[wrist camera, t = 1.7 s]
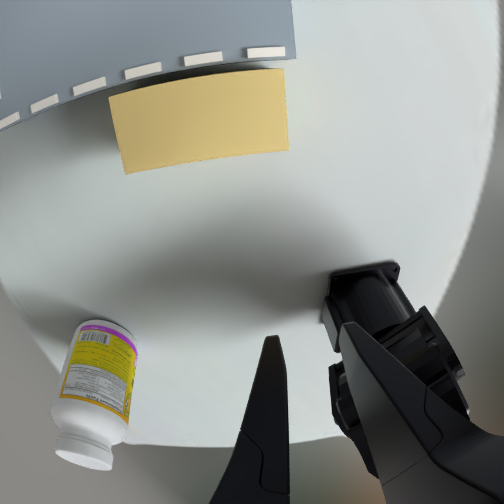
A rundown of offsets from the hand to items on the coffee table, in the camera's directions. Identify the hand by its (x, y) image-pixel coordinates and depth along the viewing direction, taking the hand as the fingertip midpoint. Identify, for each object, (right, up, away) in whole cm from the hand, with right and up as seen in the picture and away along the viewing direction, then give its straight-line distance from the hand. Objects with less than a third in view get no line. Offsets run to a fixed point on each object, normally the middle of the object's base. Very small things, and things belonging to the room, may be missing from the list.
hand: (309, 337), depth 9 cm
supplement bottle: (-16, -6, +17) cm, 24 cm away
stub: (-5, +11, +7) cm, 14 cm away
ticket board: (-9, +16, +2) cm, 19 cm away
